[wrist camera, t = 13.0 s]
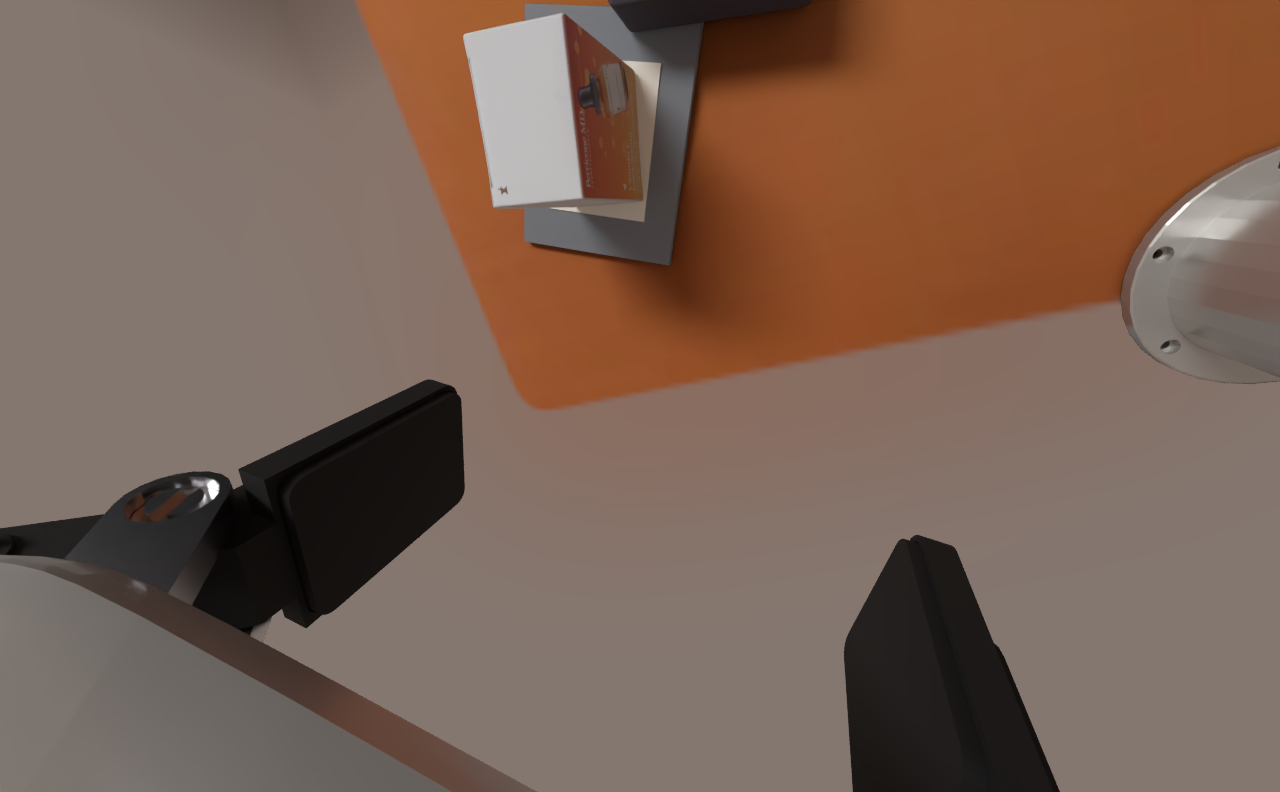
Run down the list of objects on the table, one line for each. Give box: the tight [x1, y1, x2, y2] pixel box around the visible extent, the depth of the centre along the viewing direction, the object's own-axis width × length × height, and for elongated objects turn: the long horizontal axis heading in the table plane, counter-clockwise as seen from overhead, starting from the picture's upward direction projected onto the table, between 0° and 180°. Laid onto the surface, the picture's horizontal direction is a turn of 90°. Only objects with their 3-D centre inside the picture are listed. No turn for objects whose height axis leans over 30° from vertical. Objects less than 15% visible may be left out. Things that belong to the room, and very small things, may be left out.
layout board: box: [525, 4, 704, 266], centre depth 32 cm, size 12×15×1 cm
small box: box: [463, 13, 643, 209], centre depth 27 cm, size 8×6×10 cm
